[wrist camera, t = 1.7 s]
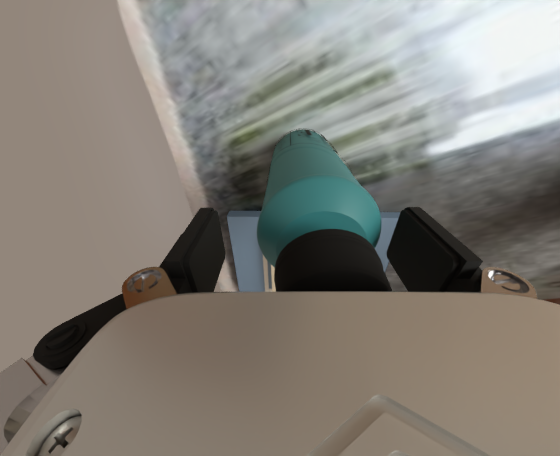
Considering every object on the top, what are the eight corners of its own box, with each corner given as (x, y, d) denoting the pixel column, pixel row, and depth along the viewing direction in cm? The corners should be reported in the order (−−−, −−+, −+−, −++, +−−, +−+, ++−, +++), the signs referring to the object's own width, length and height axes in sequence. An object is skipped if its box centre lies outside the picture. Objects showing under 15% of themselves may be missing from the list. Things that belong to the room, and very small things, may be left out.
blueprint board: (399, 212, 27) (413, 227, 24) (373, 286, 35) (381, 304, 32) (229, 210, 28) (222, 225, 25) (241, 284, 35) (236, 301, 32)
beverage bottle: (273, 184, 25) (246, 366, 9) (270, 124, 22) (215, 237, 5) (327, 184, 25) (406, 369, 9) (333, 122, 22) (493, 236, 5)
